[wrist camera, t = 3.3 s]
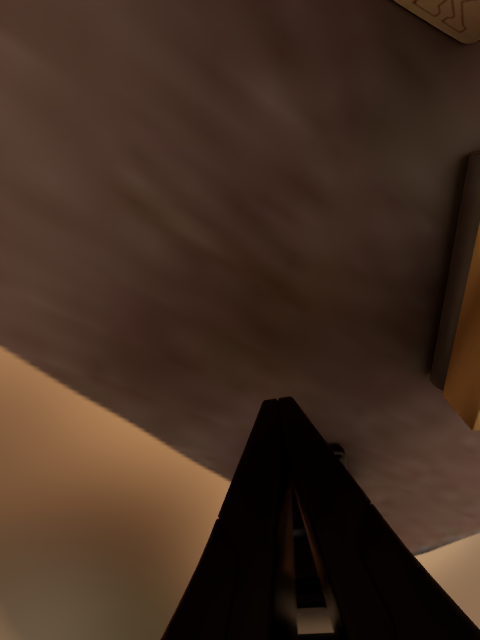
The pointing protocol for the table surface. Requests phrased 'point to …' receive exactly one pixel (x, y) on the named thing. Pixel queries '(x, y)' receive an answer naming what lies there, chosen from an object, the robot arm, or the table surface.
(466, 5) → the tan printed boxy piece
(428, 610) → the robot arm
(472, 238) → the chalkboard eraser
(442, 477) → the table surface
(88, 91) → the table surface
